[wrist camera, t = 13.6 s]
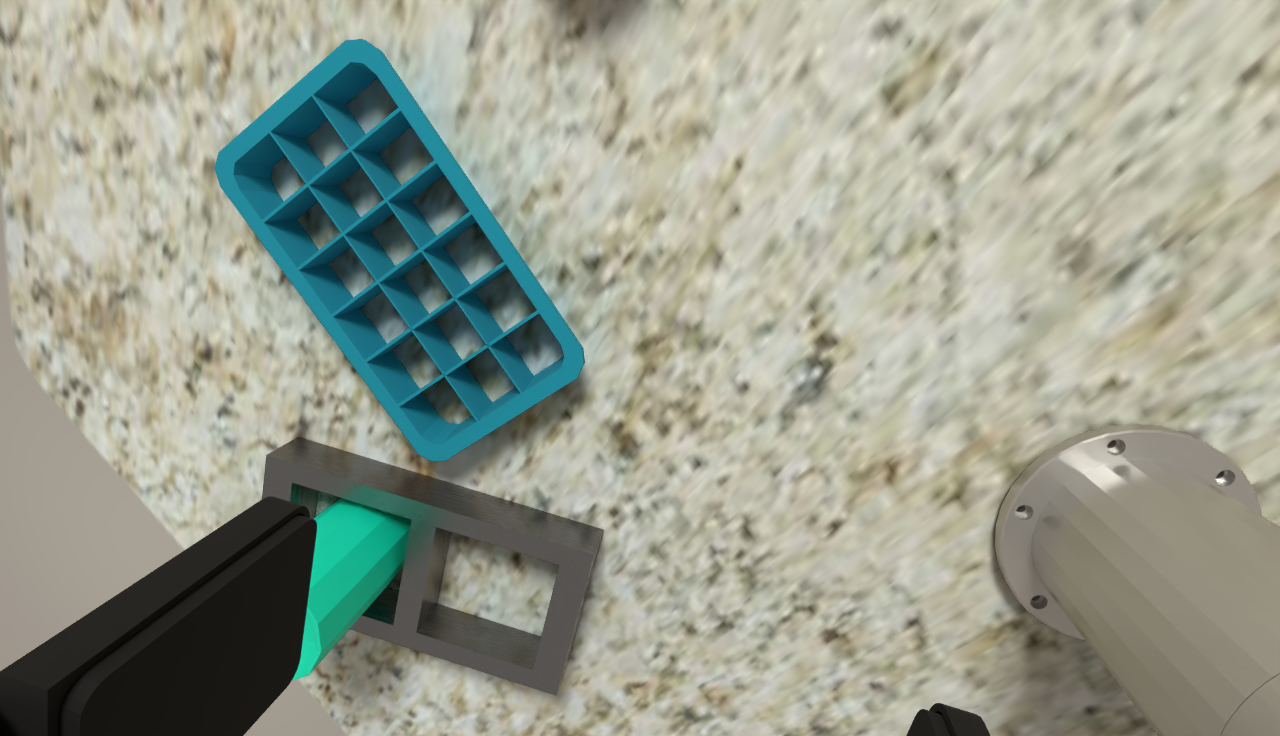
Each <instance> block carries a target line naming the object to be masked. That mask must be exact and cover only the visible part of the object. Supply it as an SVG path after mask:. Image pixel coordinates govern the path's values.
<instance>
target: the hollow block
mask: <svg viewBox="0 0 1280 736" xmlns="http://www.w3.org/2000/svg"><path fill="white" fill-rule="evenodd" d="M318 491H321V492H324V493H328V494H331V495H334V496H337V497H341V498H344V499H347V500H350V501H353V502H357V503H360V504H363V505H366V506H370V507H373V508H376V509H379V510H383V511H386V512H389V513H392V514H396V515H399V516H402V517H405V518H409V519H412V521H411V527H410V533H409V538H408V544H407V550H406V555H405V561H404V567H403V572H402V578H401V584H400V589H399V592H398V591H395V590H391V589H388V588H385V589H384V590H383V591H382V593H381V594H380V595H379V596H378V597H377V598H376V599H375V600H374V602H373V603H372V604H371V605H370V606H369V607H368V608H367V610H366V611H365V612H364V613H363V614H362V615H361V616H360V618H359V619H358V620H357V621H356V622H355V623H354V624H353V625H352V627H351V628H350V629H351V630H354V631H357V632H361V633H364V634H367V635H370V636H373V637H376V638H379V639H382V640H385V641H389V642H392V643H395V644H398V645H401V646H404V647H407V648H410V649H413V650H416V651H420V652H423V653H426V654H429V655H432V656H435V657H438V658H441V659H444V660H448V661H451V662H454V663H457V664H460V665H463V666H466V667H469V668H472V669H476V670H479V671H482V672H485V673H488V674H491V675H494V676H497V677H500V678H504V679H507V680H510V681H513V682H516V683H519V684H522V685H525V686H528V687H531V688H535V689H538V690H541V691H544V692H547V693H550V694H553V695H556V694H557V691H558V689H559V686H560V683H561V680H562V677H563V675H564V672H565V669H566V666H567V663H568V660H569V656H570V653H571V649H572V645H573V642H574V638H575V634H576V630H577V627H578V623H579V619H580V616H581V612H582V608H583V604H584V601H585V597H586V593H587V590H588V586H589V582H590V579H591V575H592V571H593V567H594V564H595V560H596V556H597V553H598V549H599V545H600V541H601V538H602V534H603V529H599V528H596V527H593V526H589V525H586V524H583V523H580V522H576V521H573V520H570V519H566V518H563V517H560V516H557V515H553V514H550V513H547V512H543V511H540V510H537V509H534V508H530V507H527V506H524V505H520V504H517V503H514V502H511V501H507V500H504V499H501V498H497V497H494V496H491V495H487V494H484V493H481V492H478V491H474V490H471V489H468V488H464V487H461V486H458V485H455V484H451V483H448V482H445V481H441V480H438V479H435V478H432V477H428V476H425V475H422V474H418V473H415V472H412V471H408V470H405V469H402V468H399V467H395V466H392V465H389V464H385V463H382V462H379V461H376V460H372V459H369V458H366V457H362V456H359V455H356V454H353V453H349V452H346V451H343V450H339V449H336V448H333V447H329V446H326V445H323V444H320V443H316V442H313V441H310V440H306V439H303V438H300V437H297V438H296V439H294V440H292V441H290V442H289V443H287V444H285V445H283V446H282V447H280V448H278V449H276V450H275V451H273V452H271V453H269V454H268V455H266V465H265V474H264V484H263V494H262V499H264V498H266V497H269V496H273V497H277V498H280V499H283V500H286V501H290V502H293V503H296V504H299V505H302V506H305V507H307V508H308V509H309V513H310V518H311V519H314V518H315V513H316V505H317V497H318ZM451 532H454V533H457V534H460V535H464V536H467V537H470V538H473V539H477V540H480V541H483V542H486V543H490V544H493V545H496V546H499V547H502V548H506V549H509V550H512V551H515V552H519V553H522V554H525V555H528V556H532V557H535V558H538V559H541V560H545V561H548V562H551V563H554V564H558V565H559V569H558V573H557V577H556V581H555V585H554V588H553V592H552V596H551V600H550V604H549V608H548V612H547V616H546V620H545V624H544V628H543V632H542V636H541V637H540V636H537V635H534V634H531V633H527V632H524V631H521V630H518V629H515V628H512V627H508V626H505V625H502V624H499V623H496V622H493V621H489V620H486V619H483V618H480V617H477V616H474V615H471V614H467V613H464V612H461V611H458V610H455V609H452V608H448V607H445V606H442V605H439V604H437V601H438V596H439V591H440V586H441V581H442V576H443V571H444V566H445V561H446V555H447V550H448V545H449V540H450V535H451Z"/></svg>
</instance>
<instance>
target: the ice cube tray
mask: <svg viewBox="0 0 1280 736" xmlns="http://www.w3.org/2000/svg"><path fill="white" fill-rule="evenodd" d="M377 78H379V79H380V81H381V82H382V84H383V85H384V87H385V88H386V90H387V91H388V93H389V94H390V96H391V97H392V98H393V100H394V101H395V103H396V104H397V106H398V108H397V109H396V110H395V111H393V112H392V113H391V114H390V115H389V116H387V117H386V118H385V119H384V120H383V121H381V122H380V123H379V124H378V125H376V126H375V127H374V128H373V129H372V130H370V131H369V132H368V133H367V134H365V132H364V131H363V130H362V128H361V127H360V125H359V124H358V122H357V121H356V120H355V118H354V117H353V115H352V114H351V112H350V111H349V109H348V108H347V107H346V104H347V103H348V102H349V101H351V100H352V99H353V98H354V97H355V96H356V95H358V94H359V93H360V92H361V91H362V90H364V89H365V88H366V87H367V86H368V85H369V84H371V83H372V82H373V81H374V80H375V79H377ZM327 120H329V121H330V123H331V124H332V126H333V127H334V129H335V130H336V131H337V133H338V134H339V136H340V137H341V139H342V140H343V141H344V143H345V144H346V146H347V147H348V148H349V149H347V150H346V151H345V152H344V153H342V154H341V155H340V156H339V157H338V158H336V159H335V160H334V161H333V162H332V163H330V164H329V165H328V166H327V167H325V166H324V165H323V164H322V162H321V161H320V159H319V158H318V157H317V155H316V154H315V152H314V151H313V150H312V148H311V147H310V145H309V144H308V143H307V141H306V140H305V139H306V138H307V137H308V136H309V135H310V134H312V133H313V132H314V131H315V130H316V129H317V128H319V127H320V126H321V125H322V124H323V123H325V122H326V121H327ZM411 126H412V128H413V129H414V131H415V132H416V134H417V135H418V137H419V138H420V139H421V141H422V142H423V144H424V145H425V147H426V148H427V150H428V151H429V153H430V154H431V156H432V157H433V158H434V161H433V162H431V163H430V164H429V165H427V166H426V167H425V168H424V169H422V170H421V171H420V172H418V173H417V174H416V175H415V176H413V177H412V178H411V179H410V180H408V181H407V182H406V183H404V184H403V185H402V186H401V184H400V183H399V181H398V180H397V178H396V177H395V176H394V174H393V173H392V171H391V170H390V168H389V167H388V166H387V164H386V163H385V161H384V160H383V158H382V157H381V155H380V154H379V152H380V151H381V150H383V149H384V148H385V147H386V146H387V145H389V144H390V143H391V142H392V141H394V140H395V139H396V138H397V137H399V136H400V135H401V134H402V133H404V132H405V131H406V130H407V129H409V128H410V127H411ZM284 156H286V157H287V158H288V160H289V161H290V162H291V164H292V165H293V167H294V168H295V169H296V171H297V172H298V174H299V175H300V176H301V178H302V179H303V181H304V182H305V183H306V184H305V185H304V186H302V187H301V188H300V189H299V190H298V191H296V192H295V193H294V194H293V195H291V196H290V197H289V198H288V199H287V200H285V201H283V200H282V199H281V197H280V196H279V194H278V193H277V191H276V189H275V187H274V184H273V182H272V180H271V173H272V167H273V166H274V165H275V164H276V163H277V162H278V161H280V160H281V159H282V158H283V157H284ZM360 167H362V168H363V170H364V171H365V173H366V174H367V176H368V177H369V178H370V180H371V181H372V183H373V184H374V185H375V187H376V188H377V190H378V191H379V193H380V194H381V195H382V197H383V198H384V200H383V201H381V202H380V203H379V204H378V205H376V206H375V207H374V208H372V209H371V210H370V211H369V212H367V213H366V214H365V215H363V216H362V217H360V216H359V214H358V213H357V212H356V210H355V209H354V207H353V206H352V204H351V203H350V202H349V200H348V199H347V197H346V196H345V195H344V193H343V192H342V190H341V189H340V188H339V186H338V185H339V184H340V183H342V182H343V181H344V180H345V179H347V178H348V177H349V176H350V175H352V174H353V173H354V172H355V171H357V170H358V169H359V168H360ZM215 171H216V174H217V178H218V181H219V184H220V187H221V188H222V190H223V191H224V192H225V194H226V195H227V196H228V198H229V199H230V200H231V202H232V203H233V204H234V206H235V207H236V208H237V210H238V211H239V213H240V214H241V215H242V217H243V218H244V219H245V221H246V222H247V223H248V225H249V226H250V227H251V229H252V230H253V231H254V233H255V234H256V236H257V237H258V238H259V240H260V241H261V242H262V244H263V245H264V246H265V248H266V249H267V250H268V252H269V253H270V254H271V256H272V257H273V258H274V260H275V261H276V263H277V264H278V265H279V267H280V268H281V269H282V271H283V272H284V273H285V275H286V276H287V277H288V279H289V280H290V281H291V283H292V284H293V286H294V287H295V288H296V290H297V291H298V292H299V294H300V295H301V296H302V298H303V299H304V300H305V302H306V303H307V304H308V306H309V307H310V308H311V310H312V311H313V313H314V314H315V315H316V317H317V318H318V319H319V321H320V322H321V323H322V325H323V326H324V327H325V329H326V330H327V331H328V333H329V334H330V336H331V337H332V338H333V340H334V341H335V342H336V344H337V345H338V346H339V348H340V349H341V350H342V352H343V353H344V354H345V356H346V357H347V359H348V360H349V361H350V363H351V364H352V365H353V367H354V368H355V369H356V371H357V372H358V373H359V375H360V376H361V377H362V379H363V380H364V381H365V383H366V384H367V386H368V387H369V388H370V390H371V391H372V392H373V394H374V395H375V396H376V398H377V399H378V400H379V402H380V403H381V404H382V406H383V407H384V409H385V410H386V411H387V413H388V414H389V415H390V417H391V418H392V419H393V421H394V422H395V423H396V425H397V426H398V427H399V429H400V430H401V431H402V433H403V434H404V436H405V437H406V438H407V440H408V441H409V442H410V444H411V445H412V446H413V448H414V449H415V450H416V452H417V453H418V454H419V455H421V456H422V457H424V458H426V459H428V460H430V461H446V460H447V459H449V458H450V457H452V456H454V455H455V454H457V453H458V452H460V451H462V450H463V449H465V448H466V447H468V446H470V445H471V444H473V443H474V442H476V441H477V440H479V439H481V438H482V437H484V436H485V435H487V434H489V433H490V432H492V431H493V430H495V429H497V428H498V427H500V426H501V425H503V424H505V423H506V422H508V421H509V420H511V419H513V418H514V417H516V416H517V415H519V414H520V413H522V412H524V411H525V410H527V409H528V408H530V407H532V406H533V405H535V404H536V403H538V402H540V401H541V400H543V399H544V398H546V397H548V396H549V395H551V394H552V393H554V392H556V391H557V390H559V389H560V388H562V387H564V386H565V385H567V384H568V383H570V382H571V381H573V380H575V379H576V378H577V377H578V376H579V374H580V372H581V369H582V367H583V365H584V363H585V360H584V349H583V347H582V346H581V344H580V343H579V341H578V340H577V338H576V337H575V335H574V334H573V332H572V331H571V329H570V328H569V326H568V325H567V323H566V322H565V320H564V319H563V318H562V316H561V315H560V313H559V312H558V310H557V309H556V307H555V306H554V304H553V303H552V301H551V300H550V298H549V297H548V295H547V294H546V292H545V291H544V289H543V288H542V287H541V285H540V284H539V282H538V281H537V279H536V278H535V276H534V275H533V273H532V272H531V270H530V269H529V267H528V266H527V264H526V263H525V261H524V260H523V259H522V257H521V256H520V254H519V253H518V251H517V250H516V248H515V247H514V245H513V244H512V242H511V241H510V239H509V238H508V236H507V235H506V233H505V232H504V231H503V229H502V228H501V226H500V225H499V223H498V222H497V220H496V219H495V217H494V216H493V214H492V213H491V211H490V210H489V208H488V207H487V205H486V204H485V203H484V201H483V200H482V198H481V197H480V195H479V194H478V192H477V191H476V189H475V188H474V186H473V185H472V183H471V182H470V180H469V179H468V177H467V176H466V175H465V173H464V172H463V170H462V169H461V167H460V166H459V164H458V163H457V161H456V160H455V158H454V157H453V155H452V154H451V152H450V151H449V149H448V148H447V147H446V145H445V144H444V142H443V141H442V139H441V138H440V136H439V135H438V133H437V132H436V130H435V129H434V127H433V126H432V124H431V123H430V121H429V120H428V119H427V117H426V116H425V114H424V113H423V111H422V110H421V108H420V107H419V105H418V104H417V102H416V101H415V99H414V98H413V96H412V95H411V93H410V92H409V91H408V89H407V88H406V86H405V85H404V83H403V82H402V80H401V79H400V77H399V76H398V74H397V73H396V71H395V70H394V68H393V67H392V65H391V64H390V63H389V61H388V60H387V58H386V57H385V55H384V54H383V52H382V51H381V50H379V49H378V48H376V47H375V46H373V45H372V44H370V43H369V42H367V41H366V40H363V39H357V40H346V41H344V42H343V43H342V44H341V45H340V46H339V47H338V48H336V49H335V50H334V51H333V52H332V53H331V54H330V55H329V56H327V57H326V58H325V59H324V60H323V61H322V62H321V63H319V64H318V65H317V66H316V67H315V68H314V69H313V70H312V71H310V72H309V73H308V74H307V75H306V76H305V77H304V78H302V79H301V80H300V81H299V82H298V83H297V84H296V85H295V86H293V87H292V88H291V89H290V90H289V91H288V92H287V93H285V94H284V95H283V96H282V97H281V98H280V99H279V100H278V101H276V102H275V103H274V104H273V105H272V106H271V107H270V108H268V109H267V110H266V111H265V112H264V113H263V114H262V115H260V116H259V117H258V118H257V119H256V120H255V121H254V122H253V123H251V124H250V125H249V126H248V127H247V128H246V129H245V130H243V131H242V132H241V133H240V134H239V135H238V136H237V137H236V138H234V139H233V140H232V141H231V142H230V143H229V144H228V145H226V146H225V147H224V148H223V149H222V150H221V151H220V152H219V153H218V157H217V161H216V165H215ZM443 175H445V176H446V177H447V179H448V180H449V182H450V183H451V185H452V186H453V188H454V189H455V191H456V192H457V194H458V195H459V196H460V198H461V199H462V201H463V202H464V204H465V205H466V207H467V208H468V210H469V212H468V213H467V214H465V215H464V216H463V217H461V218H460V219H459V220H457V221H456V222H455V223H453V224H452V225H450V226H449V227H448V228H446V229H445V230H444V231H442V232H441V233H440V234H438V235H437V236H436V235H435V233H434V232H433V230H432V229H431V227H430V226H429V224H428V223H427V222H426V220H425V219H424V217H423V216H422V214H421V213H420V212H419V210H418V209H417V207H416V206H415V204H414V203H413V201H412V199H413V198H415V197H416V196H417V195H419V194H420V193H421V192H423V191H424V190H425V189H426V188H428V187H429V186H430V185H432V184H433V183H434V182H436V181H437V180H438V179H439V178H441V177H442V176H443ZM318 201H319V203H320V204H321V206H322V207H323V208H324V210H325V211H326V213H327V214H328V215H329V217H330V218H331V220H332V221H333V222H334V224H335V225H336V226H337V228H338V229H339V231H340V232H341V233H340V234H339V235H338V236H337V237H335V238H334V239H333V240H332V241H330V242H329V243H328V244H326V245H325V246H324V247H323V248H321V249H320V250H318V248H317V247H316V245H315V244H314V243H313V241H312V240H311V238H310V237H309V236H308V234H307V233H306V232H305V230H304V229H303V227H302V226H301V225H300V223H299V222H298V221H297V218H298V217H300V216H301V215H302V214H303V213H305V212H306V211H307V210H308V209H309V208H311V207H312V206H313V205H314V204H316V203H317V202H318ZM393 214H395V215H396V217H397V218H398V220H399V221H400V223H401V224H402V225H403V227H404V228H405V230H406V231H407V232H408V234H409V235H410V237H411V238H412V240H413V241H414V242H415V244H416V245H417V247H418V248H419V249H418V250H417V251H416V252H414V253H413V254H411V255H410V256H409V257H407V258H406V259H405V260H403V261H402V262H401V263H399V264H398V265H397V266H395V265H394V264H393V262H392V261H391V259H390V258H389V257H388V255H387V254H386V252H385V251H384V250H383V248H382V247H381V245H380V244H379V242H378V241H377V240H376V238H375V237H374V235H373V234H372V233H371V231H372V230H373V229H374V228H376V227H377V226H378V225H380V224H381V223H382V222H384V221H385V220H386V219H387V218H389V217H390V216H391V215H393ZM476 222H477V223H478V224H479V226H480V227H481V229H482V230H483V232H484V233H485V235H486V236H487V237H488V239H489V240H490V242H491V243H492V245H493V246H494V248H495V249H496V251H497V252H498V254H499V255H500V256H501V258H502V259H503V261H504V262H502V263H501V264H499V265H498V266H497V267H495V268H494V269H492V270H491V271H490V272H488V273H487V274H485V275H484V276H482V277H481V278H480V279H478V280H477V281H475V282H474V283H473V284H471V285H470V283H469V282H468V281H467V279H466V278H465V276H464V275H463V273H462V272H461V271H460V269H459V268H458V266H457V265H456V263H455V262H454V260H453V259H452V258H451V256H450V255H449V253H448V252H447V250H446V249H445V248H444V246H445V245H446V244H447V243H449V242H450V241H452V240H453V239H454V238H456V237H457V236H458V235H460V234H461V233H462V232H464V231H465V230H466V229H468V228H469V227H471V226H472V225H473V224H475V223H476ZM350 247H352V249H353V250H354V252H355V253H356V254H357V256H358V257H359V259H360V260H361V261H362V263H363V264H364V265H365V267H366V268H367V270H368V271H369V272H370V274H371V275H372V277H373V278H374V279H375V282H374V283H372V284H371V285H370V286H368V287H367V288H366V289H364V290H363V291H362V292H360V293H359V294H358V295H356V296H355V297H354V298H353V296H352V295H351V294H350V292H349V291H348V289H347V288H346V287H345V285H344V284H343V283H342V281H341V280H340V278H339V277H338V276H337V274H336V273H335V272H334V270H333V269H332V267H331V266H330V265H329V263H330V262H332V261H333V260H334V259H336V258H337V257H338V256H339V255H341V254H342V253H343V252H345V251H346V250H347V249H349V248H350ZM424 260H427V261H428V262H429V264H430V265H431V267H432V268H433V270H434V271H435V272H436V274H437V275H438V277H439V278H440V279H441V281H442V282H443V284H444V285H445V287H446V288H447V289H448V291H449V292H450V294H451V295H452V297H453V298H451V299H450V300H448V301H447V302H446V303H444V304H443V305H441V306H440V307H439V308H437V309H436V310H434V311H433V312H431V313H430V314H429V313H428V311H427V310H426V309H425V307H424V306H423V304H422V303H421V302H420V300H419V299H418V297H417V296H416V295H415V293H414V292H413V290H412V289H411V288H410V286H409V285H408V283H407V282H406V280H405V279H404V278H403V276H404V275H405V274H407V273H408V272H409V271H411V270H412V269H413V268H415V267H416V266H417V265H419V264H420V263H422V262H423V261H424ZM508 268H509V270H510V271H511V273H512V274H513V275H514V277H515V278H516V280H517V281H518V283H519V284H520V286H521V287H522V289H523V290H524V292H525V293H526V295H527V296H528V297H529V299H530V300H531V302H532V303H533V305H534V306H535V308H536V309H537V311H535V312H534V313H532V314H531V315H529V316H528V317H526V318H525V319H523V320H522V321H521V322H519V323H518V324H516V325H515V326H513V327H512V328H510V329H509V330H507V331H506V332H503V331H502V329H501V328H500V327H499V325H498V324H497V322H496V321H495V319H494V318H493V317H492V315H491V314H490V312H489V311H488V309H487V308H486V306H485V305H484V304H483V302H482V301H481V299H480V298H479V296H478V295H477V294H476V292H475V291H477V290H478V289H479V288H481V287H482V286H484V285H485V284H487V283H488V282H489V281H491V280H492V279H494V278H495V277H497V276H498V275H499V274H501V273H502V272H504V271H505V270H506V269H508ZM382 291H383V292H384V293H385V295H386V296H387V297H388V299H389V300H390V302H391V303H392V304H393V306H394V307H395V309H396V310H397V311H398V313H399V314H400V316H401V317H402V318H403V320H404V321H405V323H406V324H407V325H408V327H409V329H407V330H406V331H405V332H403V333H402V334H400V335H399V336H398V337H396V338H395V339H393V340H392V341H390V342H389V343H388V344H387V343H386V342H385V340H384V339H383V338H382V336H381V335H380V333H379V332H378V331H377V329H376V328H375V327H374V325H373V324H372V322H371V321H370V320H369V318H368V317H367V316H366V314H365V313H364V311H363V310H362V309H361V307H362V306H363V305H364V304H366V303H367V302H369V301H370V300H371V299H373V298H374V297H375V296H377V295H378V294H379V293H381V292H382ZM457 304H458V305H459V307H460V308H461V309H462V311H463V312H464V314H465V315H466V316H467V318H468V319H469V321H470V322H471V324H472V325H473V326H474V328H475V329H476V331H477V332H478V334H479V335H480V336H481V338H482V339H483V341H484V342H485V344H486V345H485V346H483V347H482V348H480V349H479V350H477V351H476V352H474V353H473V354H471V355H470V356H468V357H467V358H465V359H464V360H462V359H461V358H460V356H459V355H458V354H457V352H456V351H455V349H454V348H453V347H452V345H451V344H450V342H449V341H448V340H447V338H446V337H445V335H444V334H443V333H442V331H441V330H440V328H439V327H438V325H437V324H436V323H435V321H434V320H435V319H437V318H438V317H439V316H441V315H442V314H444V313H445V312H447V311H448V310H449V309H451V308H452V307H454V306H455V305H457ZM538 314H540V315H541V316H542V318H543V319H544V321H545V322H546V324H547V325H548V327H549V328H550V330H551V331H552V333H553V334H554V335H555V337H556V338H557V340H558V341H559V343H560V344H561V347H562V350H563V354H564V357H563V358H561V359H560V360H558V361H556V362H555V363H553V364H552V365H550V366H549V367H547V368H546V369H544V370H542V371H541V372H539V373H538V374H536V375H535V376H534V375H533V374H532V373H531V371H530V370H529V368H528V367H527V365H526V364H525V363H524V361H523V360H522V358H521V357H520V355H519V354H518V352H517V351H516V350H515V348H514V347H513V345H512V344H511V342H510V341H509V340H508V338H507V337H506V335H508V334H509V333H511V332H512V331H514V330H515V329H517V328H518V327H520V326H521V325H523V324H524V323H526V322H527V321H529V320H530V319H532V318H533V317H535V316H536V315H538ZM412 335H415V336H416V338H417V339H418V341H419V342H420V343H421V345H422V346H423V348H424V349H425V350H426V352H427V353H428V355H429V356H430V357H431V359H432V360H433V361H434V363H435V364H436V366H437V367H438V368H439V370H440V371H441V373H442V375H440V376H439V377H437V378H436V379H434V380H433V381H431V382H430V383H428V384H427V385H425V386H424V387H422V388H421V389H419V387H418V386H417V384H416V383H415V382H414V380H413V379H412V378H411V376H410V375H409V373H408V372H407V371H406V369H405V368H404V367H403V365H402V364H401V362H400V361H399V360H398V358H397V357H396V355H395V354H394V353H393V351H392V349H394V348H395V347H397V346H398V345H400V344H401V343H402V342H404V341H405V340H407V339H408V338H410V337H411V336H412ZM487 348H489V349H490V351H491V352H492V354H493V355H494V356H495V358H496V359H497V361H498V362H499V363H500V365H501V366H502V368H503V369H504V371H505V372H506V373H507V375H508V376H509V378H510V379H511V381H512V382H513V383H514V385H515V386H516V388H514V389H513V390H511V391H510V392H508V393H507V394H505V395H503V396H502V397H500V398H499V399H497V400H496V401H494V402H493V403H492V401H491V400H490V399H489V397H488V396H487V394H486V393H485V392H484V390H483V389H482V387H481V386H480V385H479V383H478V382H477V380H476V379H475V378H474V376H473V375H472V373H471V372H470V371H469V369H468V368H467V366H466V365H465V363H466V362H467V361H469V360H470V359H472V358H473V357H475V356H476V355H478V354H479V353H481V352H482V351H484V350H485V349H487ZM444 377H445V378H446V380H447V381H448V382H449V384H450V385H451V387H452V388H453V389H454V391H455V392H456V393H457V395H458V396H459V398H460V399H461V400H462V402H463V403H464V405H465V406H466V407H467V409H468V410H469V412H470V413H471V414H472V416H471V417H469V418H468V419H466V420H465V421H463V422H461V423H460V424H453V423H448V422H447V421H445V420H444V419H443V418H441V417H440V416H439V415H438V413H437V412H436V411H435V409H434V408H433V406H432V405H431V404H430V402H429V401H428V400H427V398H426V397H425V395H424V394H423V393H422V392H423V391H424V390H426V389H427V388H429V387H430V386H432V385H433V384H435V383H436V382H438V381H439V380H441V379H442V378H444Z"/></svg>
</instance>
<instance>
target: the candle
mask: <svg viewBox="0 0 1280 736" xmlns="http://www.w3.org/2000/svg"><path fill="white" fill-rule="evenodd" d="M314 520H315V521H316V523H317V534H316V542H315V550H314V558H313V565H312V573H311V581H310V589H309V596H308V604H307V612H306V619H305V627H304V635H303V643H302V650H301V658H300V663H299V666H298V669H297V671H296V674H295V676H294V677H293V679H292V680H295V679H298V678H301V677H304V676H308V675H309V674H310V673H311V672H312V671H313V670H314V669H315V667H316V666H317V665H318V664H319V663H320V662H321V661H322V660H323V658H324V657H325V656H326V655H327V654H328V653H329V652H330V650H331V649H332V648H333V647H334V646H335V645H336V644H337V642H338V641H339V640H340V639H341V638H342V637H343V636H344V635H345V633H346V632H347V631H348V630H349V629H350V628H351V627H352V625H353V624H354V623H355V622H356V621H357V620H358V619H359V618H360V616H361V615H362V614H363V613H364V612H365V611H366V610H367V608H368V607H369V606H370V605H371V604H372V603H373V602H374V600H375V599H376V598H377V597H378V596H379V595H380V594H381V593H382V591H383V590H384V589H385V588H386V587H387V586H388V585H389V583H390V582H391V581H392V580H393V579H394V578H395V577H396V576H397V574H398V573H399V572H400V571H401V570H402V569H403V567H404V561H405V555H406V550H407V544H408V538H409V533H410V527H411V521H412V519H409V518H405V517H402V516H399V515H396V514H392V513H389V512H386V511H383V510H379V509H376V508H373V507H370V506H366V505H363V504H360V503H357V502H353V501H350V500H347V499H344V498H340V499H338V500H337V501H335V502H334V503H333V504H332V505H330V506H329V507H328V508H326V509H325V510H324V511H323V512H321V513H320V514H319V515H317V516H316V517H315V518H314Z"/></svg>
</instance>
